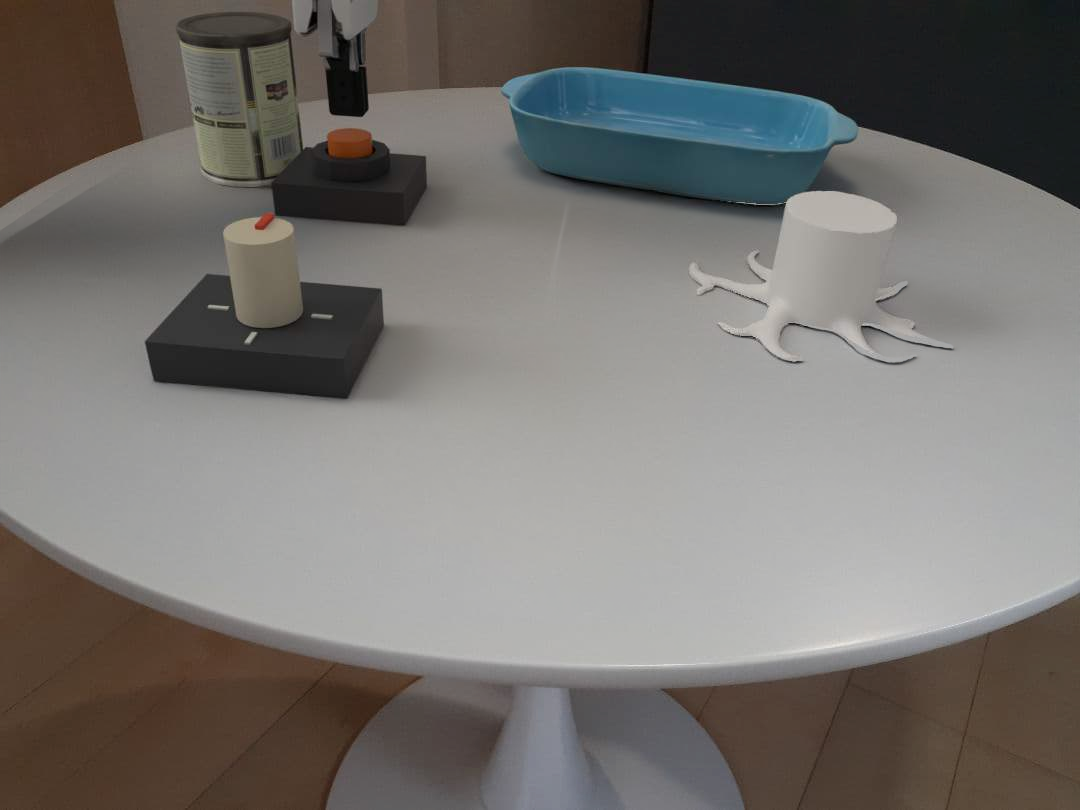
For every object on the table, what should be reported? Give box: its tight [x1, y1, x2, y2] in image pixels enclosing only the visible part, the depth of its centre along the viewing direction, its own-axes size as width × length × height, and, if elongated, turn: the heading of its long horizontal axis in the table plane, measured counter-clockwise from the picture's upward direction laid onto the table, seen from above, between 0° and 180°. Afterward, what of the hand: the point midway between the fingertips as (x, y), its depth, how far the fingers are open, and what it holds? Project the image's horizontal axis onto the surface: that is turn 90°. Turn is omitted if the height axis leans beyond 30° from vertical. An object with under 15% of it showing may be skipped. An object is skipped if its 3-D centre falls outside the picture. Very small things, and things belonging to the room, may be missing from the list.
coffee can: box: [175, 11, 304, 188], centre depth 89 cm, size 10×10×14 cm
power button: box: [326, 127, 373, 158], centre depth 85 cm, size 4×4×2 cm
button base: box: [270, 139, 428, 227], centre depth 86 cm, size 12×10×5 cm
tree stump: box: [688, 190, 927, 360], centre depth 71 cm, size 20×19×8 cm
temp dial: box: [222, 212, 303, 328], centre depth 61 cm, size 4×4×6 cm
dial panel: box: [144, 273, 385, 399], centre depth 63 cm, size 13×10×3 cm
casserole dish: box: [501, 66, 859, 204], centre depth 97 cm, size 37×22×7 cm, turn 74°
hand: (349, 113), depth 83 cm, fingers closed
